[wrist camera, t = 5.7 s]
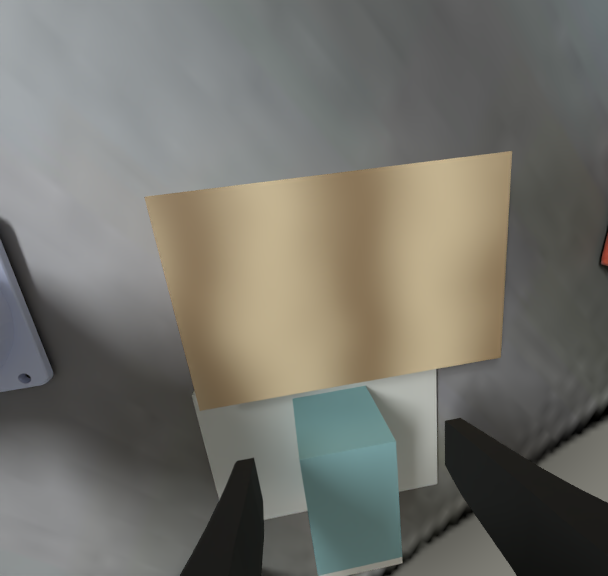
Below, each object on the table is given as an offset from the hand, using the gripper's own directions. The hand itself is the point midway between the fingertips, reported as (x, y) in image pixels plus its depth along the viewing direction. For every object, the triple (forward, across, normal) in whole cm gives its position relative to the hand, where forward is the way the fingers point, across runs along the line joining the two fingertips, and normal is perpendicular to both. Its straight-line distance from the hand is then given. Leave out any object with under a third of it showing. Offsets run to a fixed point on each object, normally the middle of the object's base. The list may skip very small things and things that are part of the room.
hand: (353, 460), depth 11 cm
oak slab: (+5, -1, -6) cm, 8 cm away
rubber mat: (+5, 0, +4) cm, 7 cm away
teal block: (+3, 0, 0) cm, 3 cm away
